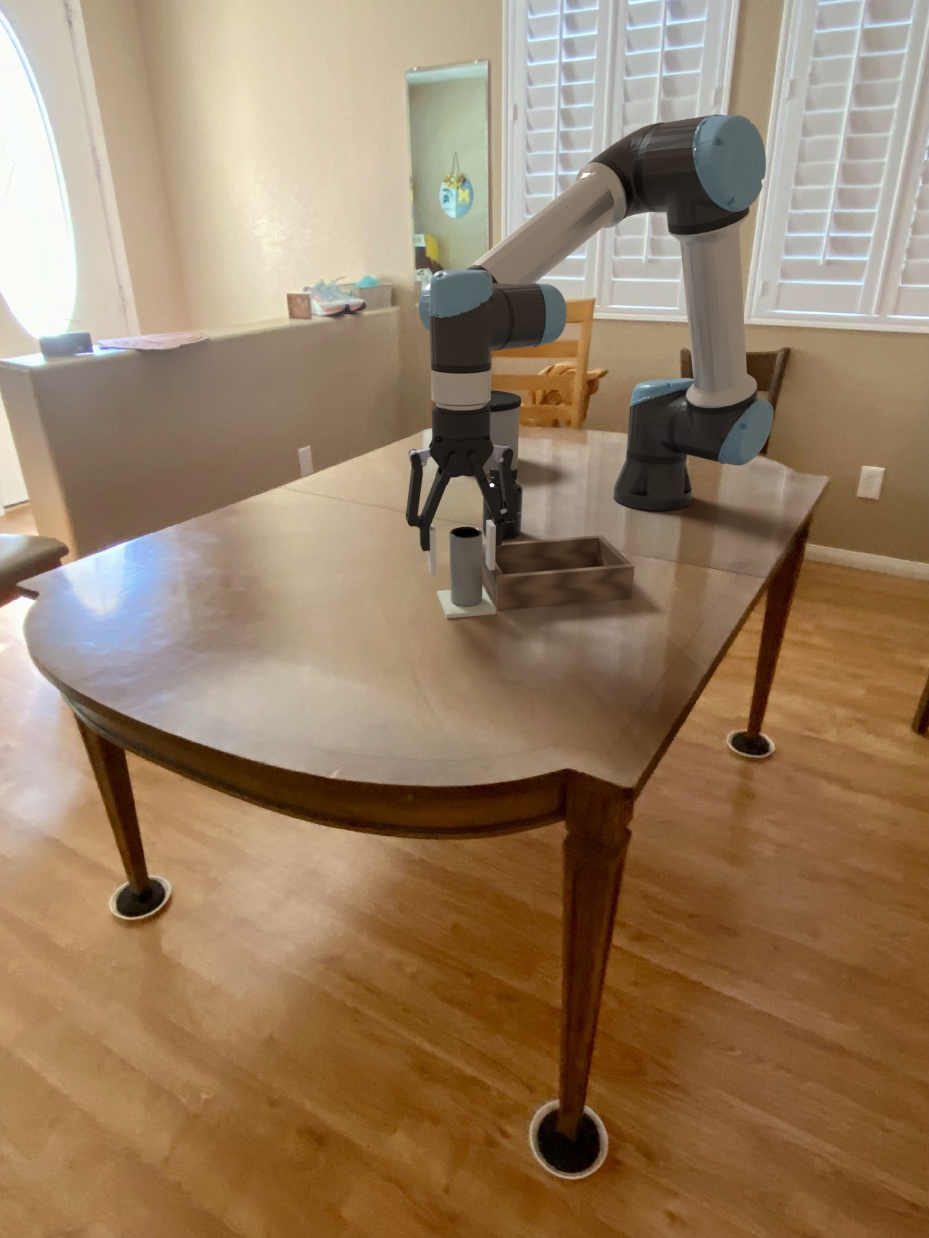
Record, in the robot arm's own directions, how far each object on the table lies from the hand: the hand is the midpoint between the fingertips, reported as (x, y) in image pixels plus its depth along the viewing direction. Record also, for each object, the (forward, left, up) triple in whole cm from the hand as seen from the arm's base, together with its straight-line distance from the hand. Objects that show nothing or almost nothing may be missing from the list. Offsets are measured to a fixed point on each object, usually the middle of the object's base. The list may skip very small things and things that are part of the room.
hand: (461, 568), depth 107 cm
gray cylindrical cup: (-1, 0, -5) cm, 5 cm away
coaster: (-1, 0, -5) cm, 5 cm away
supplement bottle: (-13, -27, -6) cm, 30 cm away
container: (-19, -74, -6) cm, 76 cm away
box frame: (-15, -3, -5) cm, 16 cm away
